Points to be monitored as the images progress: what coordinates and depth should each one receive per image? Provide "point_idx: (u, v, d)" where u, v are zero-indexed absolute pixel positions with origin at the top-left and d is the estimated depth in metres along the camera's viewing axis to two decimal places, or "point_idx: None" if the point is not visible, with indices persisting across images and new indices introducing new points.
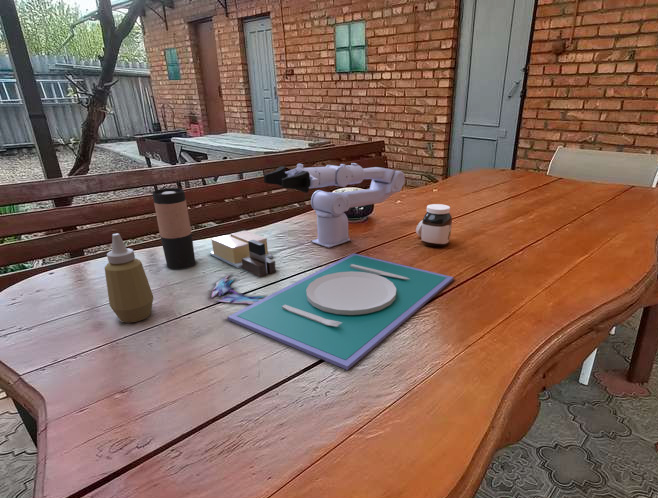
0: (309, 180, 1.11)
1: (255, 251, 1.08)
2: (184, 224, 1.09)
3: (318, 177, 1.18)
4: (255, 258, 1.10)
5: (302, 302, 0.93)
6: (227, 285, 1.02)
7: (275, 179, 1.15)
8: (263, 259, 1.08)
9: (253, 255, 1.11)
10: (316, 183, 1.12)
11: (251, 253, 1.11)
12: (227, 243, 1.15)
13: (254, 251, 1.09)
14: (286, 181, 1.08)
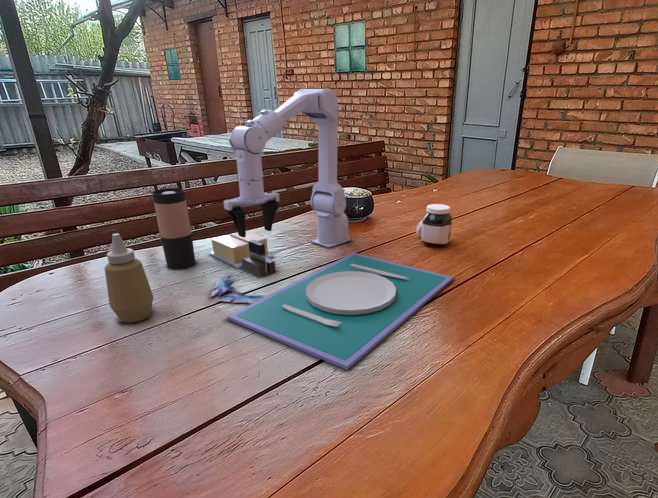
0: None
1: (255, 251, 1.08)
2: (184, 224, 1.09)
3: None
4: (255, 258, 1.10)
5: (302, 302, 0.93)
6: (227, 284, 1.02)
7: None
8: (263, 259, 1.08)
9: (253, 255, 1.11)
10: None
11: (251, 253, 1.11)
12: (227, 243, 1.15)
13: (254, 251, 1.09)
14: None
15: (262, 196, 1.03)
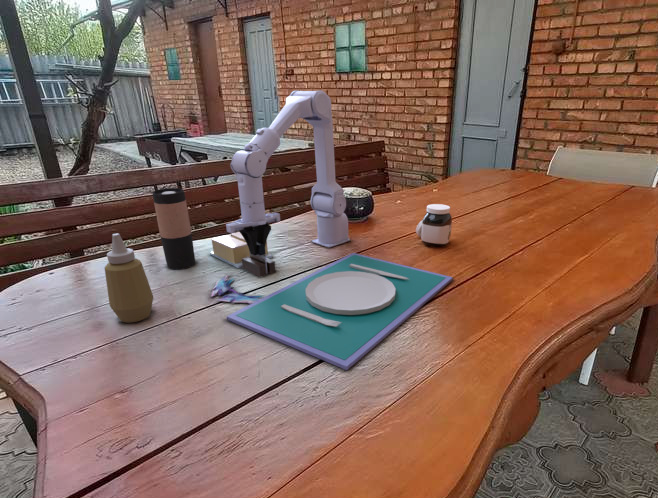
0: None
1: None
2: (184, 224, 1.09)
3: None
4: (255, 258, 1.10)
5: (301, 302, 0.92)
6: (227, 284, 1.02)
7: None
8: (263, 259, 1.08)
9: (253, 255, 1.11)
10: None
11: None
12: (227, 243, 1.15)
13: None
14: None
15: (263, 218, 1.05)
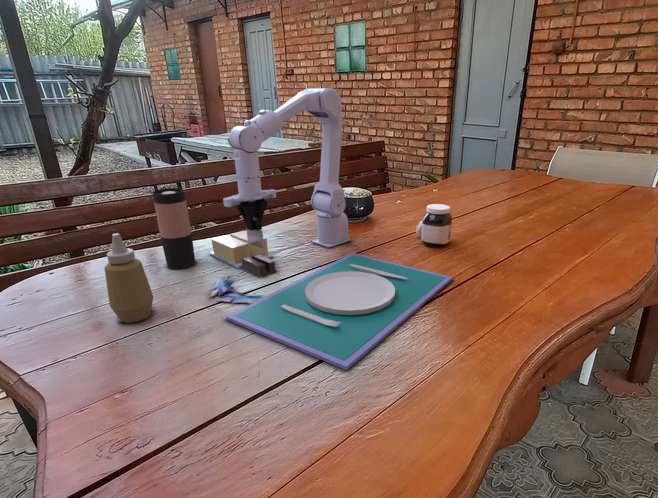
0: None
1: None
2: (184, 224, 1.09)
3: None
4: (252, 234, 1.13)
5: (301, 302, 0.92)
6: (227, 284, 1.02)
7: None
8: (260, 234, 1.10)
9: (250, 231, 1.13)
10: None
11: None
12: (227, 243, 1.15)
13: None
14: None
15: (260, 193, 1.07)
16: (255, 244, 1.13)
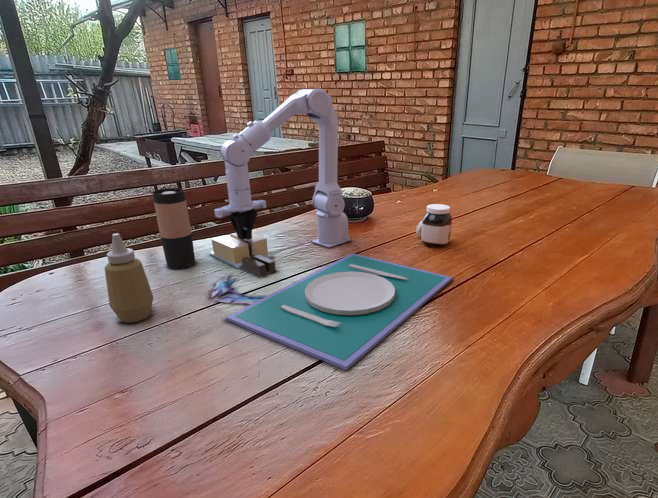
0: None
1: None
2: (184, 224, 1.09)
3: None
4: None
5: (301, 302, 0.92)
6: (227, 285, 1.02)
7: None
8: (250, 243, 1.15)
9: (241, 240, 1.18)
10: None
11: None
12: (227, 243, 1.15)
13: None
14: None
15: (250, 204, 1.12)
16: None
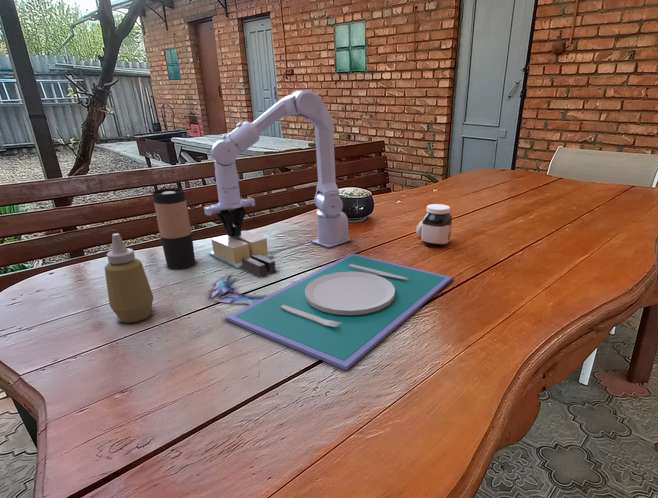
0: None
1: None
2: (184, 224, 1.09)
3: None
4: None
5: (301, 302, 0.92)
6: (227, 285, 1.02)
7: None
8: None
9: None
10: None
11: None
12: (227, 243, 1.15)
13: None
14: None
15: (239, 202, 1.15)
16: None
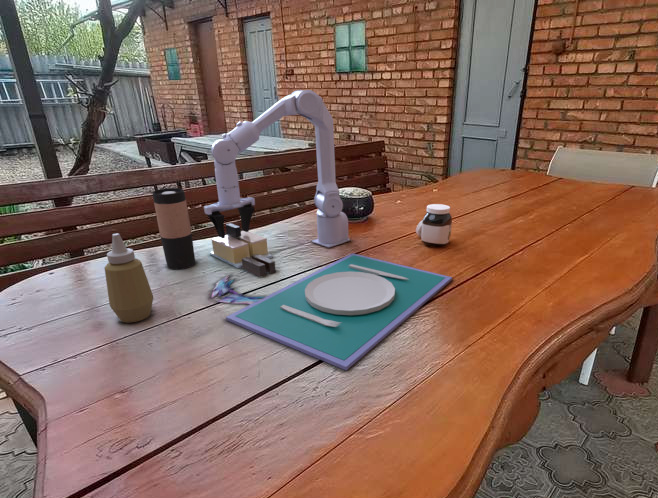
0: None
1: (232, 233, 1.19)
2: (184, 224, 1.09)
3: None
4: None
5: (301, 302, 0.92)
6: (227, 285, 1.02)
7: None
8: None
9: None
10: None
11: None
12: (227, 243, 1.15)
13: (231, 233, 1.19)
14: None
15: (238, 201, 1.15)
16: None
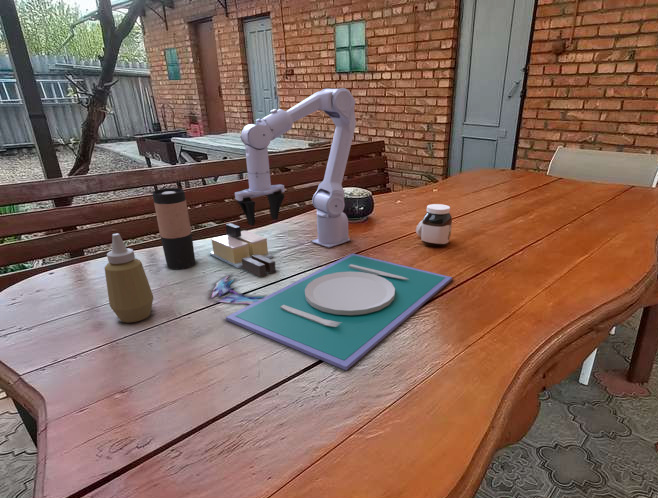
0: None
1: (232, 233, 1.19)
2: (184, 224, 1.09)
3: None
4: None
5: (301, 302, 0.92)
6: (227, 285, 1.02)
7: None
8: None
9: None
10: None
11: None
12: (227, 243, 1.15)
13: (231, 233, 1.19)
14: None
15: (269, 187, 1.13)
16: None
